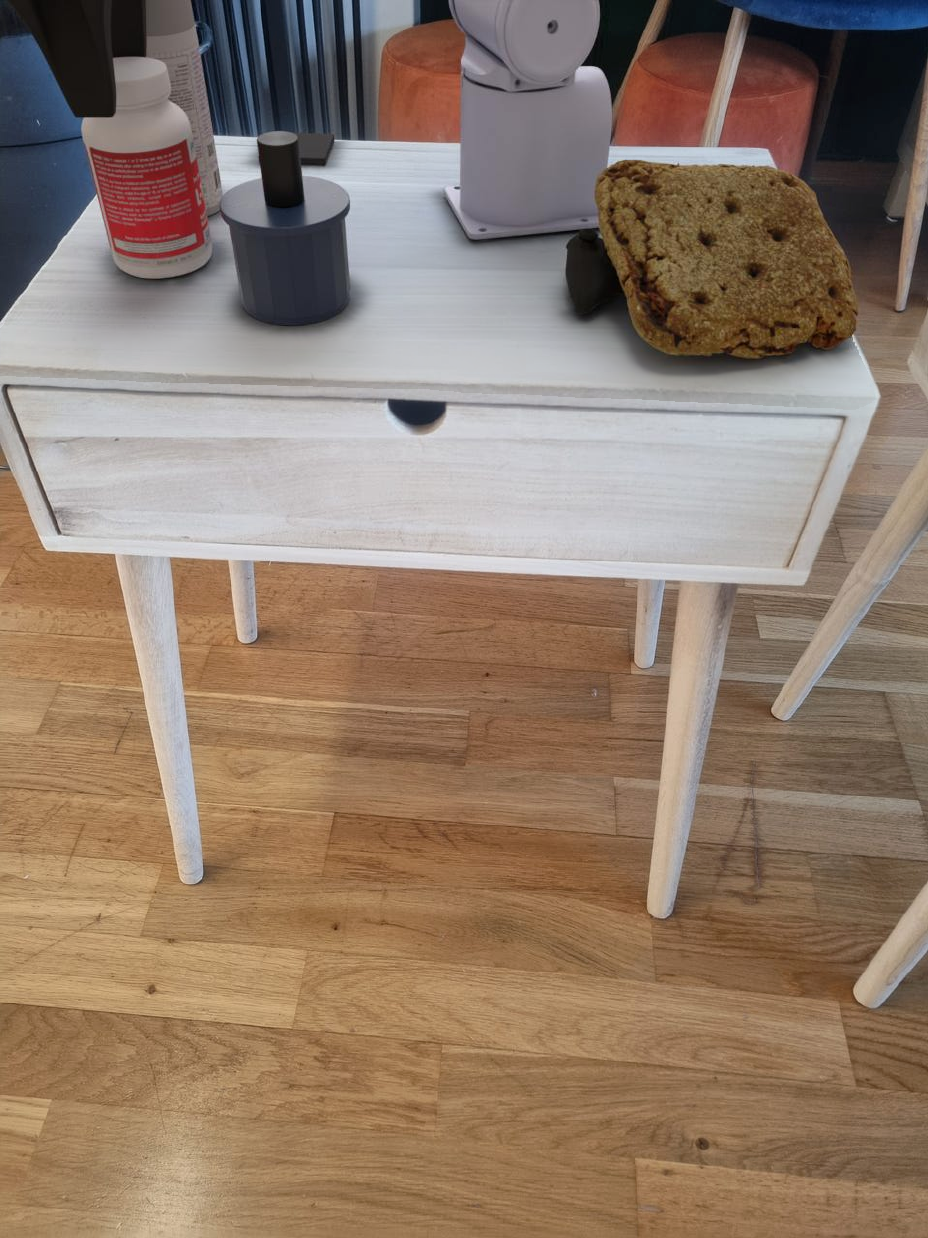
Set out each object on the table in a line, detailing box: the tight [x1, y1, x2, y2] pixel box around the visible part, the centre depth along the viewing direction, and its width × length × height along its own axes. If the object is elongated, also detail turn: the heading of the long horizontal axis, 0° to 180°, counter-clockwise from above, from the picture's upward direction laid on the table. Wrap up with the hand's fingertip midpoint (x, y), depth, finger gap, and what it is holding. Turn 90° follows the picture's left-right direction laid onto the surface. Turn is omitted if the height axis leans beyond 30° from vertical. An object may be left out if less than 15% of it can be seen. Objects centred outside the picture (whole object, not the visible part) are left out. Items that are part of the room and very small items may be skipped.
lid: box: [219, 130, 351, 237], centre depth 54 cm, size 7×7×4 cm
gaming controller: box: [564, 228, 625, 316], centre depth 59 cm, size 9×5×5 cm
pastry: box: [594, 159, 859, 359], centre depth 56 cm, size 17×17×3 cm
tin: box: [228, 217, 351, 326], centre depth 57 cm, size 6×6×5 cm
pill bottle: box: [80, 57, 213, 280], centre depth 59 cm, size 6×6×11 cm
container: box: [146, 0, 224, 217], centre depth 63 cm, size 5×5×15 cm
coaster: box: [257, 132, 335, 166], centre depth 75 cm, size 5×5×1 cm
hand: (112, 90), depth 55 cm, fingers open, 7 cm apart
